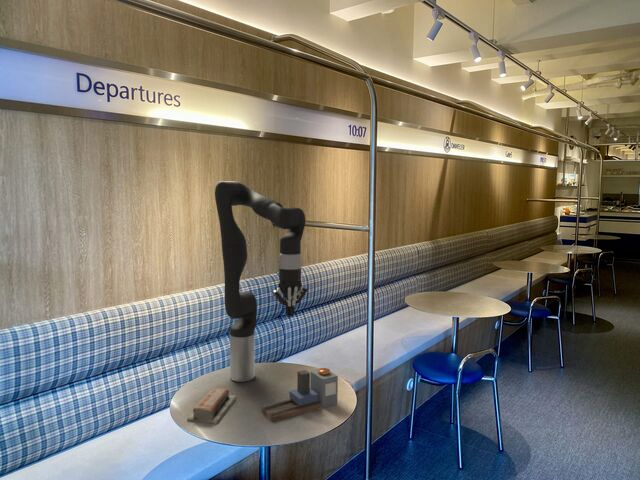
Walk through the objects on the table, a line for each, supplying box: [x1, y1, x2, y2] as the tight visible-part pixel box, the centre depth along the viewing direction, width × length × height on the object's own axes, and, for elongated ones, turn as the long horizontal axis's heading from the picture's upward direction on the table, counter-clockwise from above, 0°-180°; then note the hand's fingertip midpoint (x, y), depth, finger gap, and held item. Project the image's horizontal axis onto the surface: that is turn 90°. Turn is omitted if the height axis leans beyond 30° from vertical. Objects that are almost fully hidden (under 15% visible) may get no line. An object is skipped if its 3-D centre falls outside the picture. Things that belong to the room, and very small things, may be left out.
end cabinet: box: [310, 369, 339, 409], centre depth 162 cm, size 8×6×10 cm
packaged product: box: [186, 387, 236, 425], centre depth 156 cm, size 18×5×10 cm
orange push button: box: [317, 367, 331, 376], centre depth 162 cm, size 4×4×6 cm
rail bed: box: [261, 398, 322, 422], centre depth 156 cm, size 8×18×2 cm, turn 121°
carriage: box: [288, 369, 318, 406], centre depth 158 cm, size 7×7×9 cm
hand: (289, 316), depth 163 cm, fingers closed
